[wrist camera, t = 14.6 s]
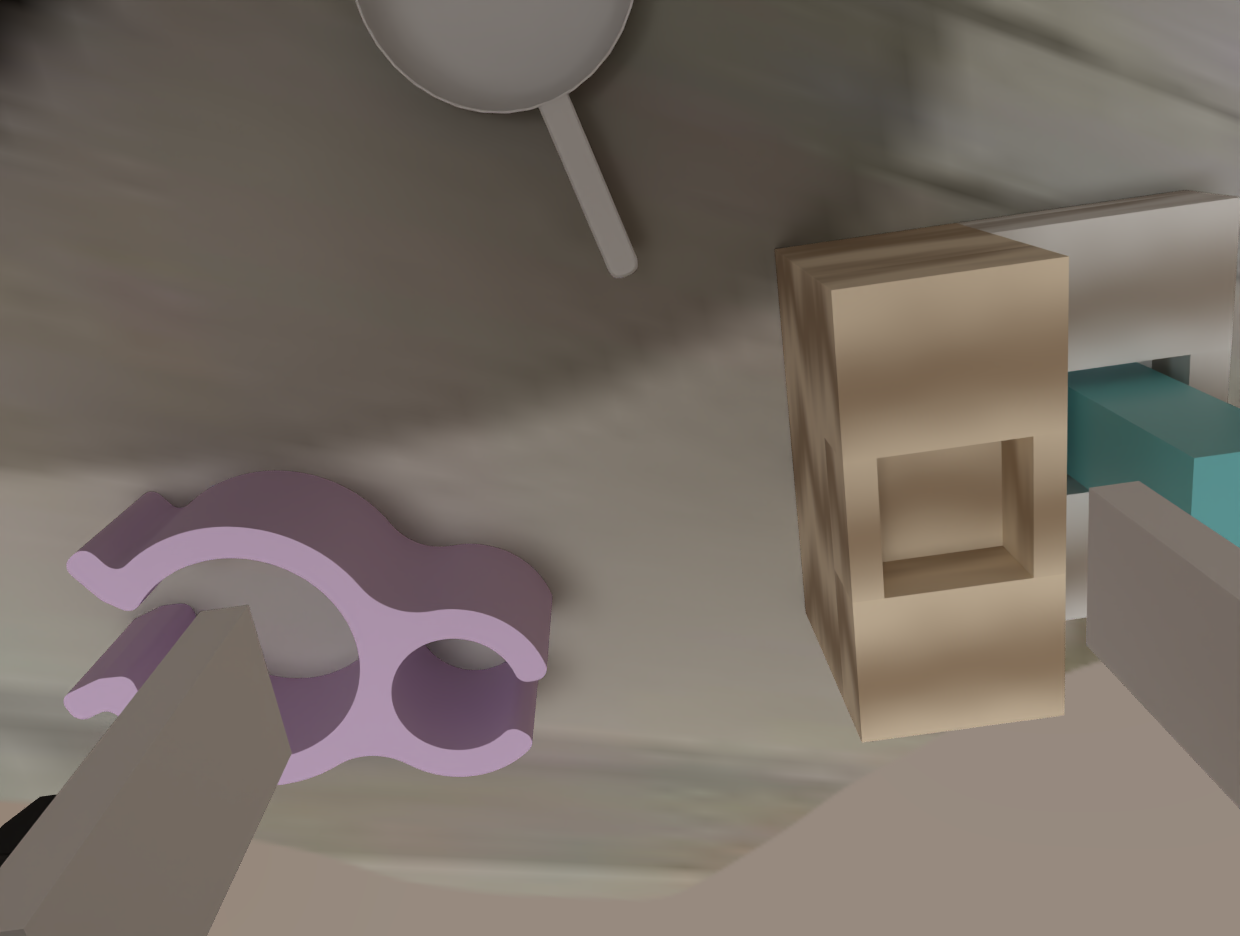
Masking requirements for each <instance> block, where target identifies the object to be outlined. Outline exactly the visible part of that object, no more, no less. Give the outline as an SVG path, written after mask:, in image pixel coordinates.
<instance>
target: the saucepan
mask: <svg viewBox="0 0 1240 936" xmlns="http://www.w3.org/2000/svg"><path fill="white" fill-rule="evenodd" d="M355 2H356V4H357V7H358V10H359V12H360V15H361V18H362V20H363V22H364V24H365V26H366V28H367V29H368V31H369V33H370V35H371V36H372V38H373V40H374V42H375V43H376V45H377V47H378V48H379V49H380V50H381V51H382V53H383V54H384V55H385V56H386V58H387V59H388V60H389V61H390V63H391V64H392V65H393V66H394V67H395V68H396V69H397V70H398V71H399V72H400V73H401V74H403V75H404V76H405V77H406V78H407V79H408V80H409V81H410V82H411V83H413V84H414V85H415V86H417V87H419V88H420V89H422V90H423V91H425V92H427V93H428V94H430V95H431V96H433V97H434V98H437V99H439V100H441V101H444V102H446V103H449V104H451V105H453V106H456V107H458V108H463V109H468V110H472V111H477V112H481V113H513V112H520V111H526V110H532V109H535V108H537V107H538V108H539V110H540V112H541V115H542V117H543V119H544V122H545V124H546V126H547V129H548V131H549V133H550V136H551V138H552V140H553V143H554V145H555V147H556V150H557V152H558V154H559V157H560V159H561V161H562V164H563V166H564V168H565V171H566V173H567V175H568V178H569V180H570V182H571V185H572V187H573V189H574V192H575V194H576V196H577V199H578V201H579V203H580V206H581V208H582V210H583V213H584V215H585V217H586V220H587V222H588V224H589V227H590V229H591V231H592V234H593V236H594V238H595V241H596V243H597V245H598V248H599V250H600V252H601V255H602V257H603V259H604V262H605V264H606V266H607V269H608V271H609V273H610V274H611V275H612V276H613V277H614V278H624V277H626V276H629V275H631V274H633V273H634V272H635V271H636V270H637V268H638V259H637V257H636V254H635V252H634V249H633V247H632V245H631V242H630V240H629V237H628V235H627V233H626V230H625V228H624V226H623V223H622V221H621V218H620V216H619V214H618V211H617V209H616V206H615V204H614V202H613V199H612V197H611V195H610V192H609V190H608V187H607V185H606V183H605V180H604V178H603V175H602V173H601V171H600V168H599V166H598V163H597V161H596V159H595V156H594V154H593V152H592V149H591V147H590V144H589V142H588V140H587V137H586V135H585V132H584V130H583V128H582V125H581V123H580V121H579V118H578V116H577V113H576V111H575V109H574V106H573V104H572V101H571V99H570V97H569V94H568V93H570V92H571V91H573V90H575V89H576V88H577V87H578V86H580V85H581V84H582V83H583V82H584V81H585V80H587V79H588V78H589V77H590V76H591V75H593V74H594V73H595V71H596V70H597V69H598V68H599V67H600V65H601V64H602V63H603V62H604V60H605V59H606V58H607V57H608V56H609V54H610V53H611V51H612V49H613V48H614V46H615V44H616V42H617V41H618V39H619V37H620V35H621V34H622V32H623V30H624V27H625V24H626V22H627V19H628V16H629V13H630V11H631V8H632V5H633V0H355Z"/></svg>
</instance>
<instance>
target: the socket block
mask: <svg viewBox="0 0 1240 936" xmlns="http://www.w3.org/2000/svg"><path fill="white" fill-rule="evenodd" d="M1239 223H1240V197H1236V196H1228V195H1220V194H1212V193H1204V192H1197V191H1189V190H1182V191H1175V192H1168V193H1161V194H1154V195H1147V196H1140V197H1134V198H1127V199H1120V200H1113V201H1106V202H1099V203H1092V204H1085V205H1078V206H1071V207H1064V208H1057V209H1050V210H1043V211H1036V212H1029V213H1022V214H1015V215H1008V216H1001V217H994V218H988V219H981V220H974V221H967V222H960V223H953V224H946V225H939V226H932V227H925V228H918V229H911V230H904V231H897V232H890V233H883V234H876V235H869V236H862V237H855V238H849V239H842V240H835V241H828V242H821V243H814V244H807V245H800V246H793V247H786V248H779V249H775V260H776V271H777V283H778V295H779V306H780V318H781V330H782V341H783V353H784V364H785V376H786V388H787V399H788V411H789V423H790V434H791V446H792V457H793V469H794V481H795V492H796V504H797V516H798V527H799V539H800V551H801V562H802V574H803V585H804V597H805V609H806V614H807V617H808V619H809V621H810V623H811V626H812V628H813V630H814V633H815V635H816V637H817V640H818V642H819V644H820V647H821V649H822V651H823V653H824V656H825V658H826V660H827V663H828V665H829V667H830V670H831V672H832V674H833V676H834V679H835V681H836V683H837V686H838V688H839V690H840V693H841V695H842V697H843V700H844V702H845V704H846V706H847V709H848V711H849V713H850V716H851V718H852V720H853V723H854V725H855V727H856V729H857V732H858V734H859V736H860V739H861V741H862V742H869V741H877V740H884V739H892V738H899V737H907V736H914V735H921V734H929V733H936V732H944V731H951V730H958V729H966V728H974V727H981V726H988V725H996V724H1003V723H1010V722H1018V721H1026V720H1033V719H1041V718H1048V717H1055V716H1063V715H1064V704H1065V700H1064V698H1065V620H1071V619H1078V618H1086V617H1087V575H1088V518H1089V490H1088V489H1087V488H1085V487H1084V486H1083V485H1082V484H1080V483H1079V482H1078V481H1076V480H1075V479H1074V478H1072V477H1071V476H1070V475H1068V474H1067V409H1068V372H1070V371H1077V370H1084V369H1091V368H1098V367H1105V366H1112V365H1119V364H1126V363H1133V362H1138V363H1140V364H1142V365H1144V366H1147V367H1149V368H1151V369H1153V370H1156V371H1158V372H1160V373H1162V374H1164V375H1167V376H1169V377H1171V378H1173V379H1175V380H1178V381H1180V382H1182V383H1184V384H1186V385H1189V386H1191V387H1193V388H1195V389H1197V390H1200V391H1202V392H1204V393H1206V394H1209V395H1211V396H1213V397H1215V398H1217V399H1220V400H1222V401H1224V402H1226V403H1228V392H1229V376H1230V361H1231V346H1232V330H1233V315H1234V300H1235V284H1236V269H1237V253H1238V238H1239Z"/></svg>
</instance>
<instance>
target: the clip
mask: <svg viewBox="0 0 1240 936" xmlns="http://www.w3.org/2000/svg"><path fill="white" fill-rule="evenodd" d="M222 558H240V559H250V560H257V561H261V562H266V563H269V564H272V565H276V566H278V567H281V568H284V569H286V570H288V571H290V572H293V573H295V574H296V575H298V576H300V577H302V578H303V579H305V580H307V581H308V582H310V583H311V584H312V585H314V586H315V587H317V588H318V589H319V590H320V591H321V592H322V593H324V594H325V595H326V596H327V597H328V598H329V599H330V600H331V601H332V602H333V604H334V605H335V606H336V607H337V608H338V610H339V611H340V612H341V614H342V615H343V617H344V618H345V620H346V621H347V623H348V625H349V627H350V629H351V631H352V634H353V636H354V639H355V642H356V645H357V649H358V653H359V659H358V660H357V661H355V662H354V663H352V664H350V665H349V666H347V667H345V668H343V669H341V670H339V671H336V672H333V673H330V674H327V675H323V676H319V677H312V678H283V677H277V676H273V675H269V677H270V680H271V683H272V687H273V690H274V694H275V697H276V701H277V704H278V707H279V711H280V714H281V718H282V721H283V725H284V728H285V731H286V735H287V738H288V742H289V745H290V749H291V752H292V754H291V756H290V758H289V760H288V763H287V765H286V767H285V769H284V771H283V773H282V776H281V778H280V780H279V782H278V784H277V785H282V784H288V783H294V782H298V781H302V780H305V779H308V778H311V777H314V776H317V775H319V774H322V773H324V772H326V771H328V770H330V769H332V768H333V767H335V766H337V765H339V764H341V763H343V762H345V761H347V760H350V759H353V758H357V757H362V756H384V757H389V758H393V759H397V760H399V761H402V762H404V763H406V764H409V765H411V766H413V767H415V768H417V769H420V770H423V771H426V772H429V773H433V774H437V775H443V776H454V777H464V776H475V775H481V774H485V773H489V772H492V771H495V770H498V769H500V768H503V767H505V766H507V765H509V764H511V763H512V762H514V761H516V760H517V759H519V758H520V757H521V756H523V755H524V754H525V753H526V752H527V751H528V750H529V749H530V748H531V746H532V740H533V729H534V718H535V707H536V697H537V686H538V680H539V679H541V678H543V677H544V676H545V674H546V671H547V660H548V647H549V635H550V622H551V610H552V594H551V592H550V590H549V588H548V586H547V584H546V583H545V581H544V580H543V578H542V577H541V576H540V575H539V574H538V572H537V571H536V570H535V569H534V568H533V567H531V566H530V565H529V564H528V563H527V562H525V561H524V560H522V559H521V558H519V557H517V556H516V555H514V554H512V553H510V552H508V551H505V550H503V549H500V548H496V547H492V546H488V545H482V544H459V545H452V546H445V547H435V546H428V545H423V544H420V543H417V542H415V541H412V540H410V539H409V538H407V537H405V536H404V535H402V534H401V533H400V532H398V531H397V530H396V529H395V528H394V527H393V526H392V525H391V523H390V522H389V521H388V520H387V519H386V518H385V517H384V516H383V515H382V514H381V513H380V512H379V511H378V510H377V509H376V508H375V507H374V506H373V505H371V504H370V503H369V502H368V501H366V500H365V499H364V498H362V497H361V496H359V495H358V494H356V493H354V492H353V491H351V490H349V489H347V488H346V487H344V486H342V485H339V484H337V483H335V482H333V481H330V480H327V479H324V478H321V477H318V476H315V475H310V474H306V473H300V472H294V471H278V470H274V471H259V472H253V473H247V474H243V475H239V476H236V477H233V478H230V479H227V480H225V481H222V482H220V483H218V484H216V485H214V486H212V487H211V488H209V489H207V490H206V491H204V492H203V493H201V494H200V495H199V496H197V497H196V498H195V499H194V500H192V501H191V502H190V503H189V504H188V505H187V506H185V507H182V508H178V507H175V506H173V505H171V504H170V503H169V502H168V501H167V500H166V499H164V498H163V497H162V496H161V495H160V494H158V493H156V492H147V493H145V494H144V495H142V496H141V497H140V498H139V499H138V500H137V501H135V502H134V503H133V504H132V505H131V506H130V507H128V508H127V509H126V510H125V511H124V512H123V513H121V514H120V515H119V516H118V517H117V518H116V519H114V520H113V521H112V522H111V523H110V524H109V525H107V526H106V527H105V528H104V529H103V530H102V531H100V532H99V533H98V534H97V535H96V536H95V537H93V538H92V539H91V540H90V541H89V542H88V543H86V544H85V545H84V546H83V547H82V548H80V549H79V550H78V551H77V552H76V553H75V554H74V555H72V556H71V557H70V558H69V560H68V561H67V570H68V572H69V573H70V574H71V575H72V576H73V577H74V578H75V579H76V580H78V581H79V582H80V583H81V584H82V585H83V586H85V587H86V588H87V589H88V590H89V591H91V592H92V593H93V594H94V595H95V596H97V597H98V598H99V599H100V600H102V601H104V602H106V603H108V604H110V605H113V606H115V607H117V608H120V609H122V610H125V611H131V610H134V609H136V608H137V607H138V606H139V605H140V604H141V603H142V602H143V601H144V599H145V598H146V597H147V596H148V595H149V594H150V593H151V592H152V591H153V590H154V589H155V587H156V586H157V585H158V584H159V583H160V582H161V581H162V580H163V579H164V578H165V577H167V576H168V575H170V574H172V573H173V572H175V571H177V570H179V569H181V568H184V567H186V566H189V565H191V564H195V563H198V562H202V561H207V560H213V559H222ZM195 618H196V615H195V613H194V611H193V609H192V608H191V607H190V606H189V605H187V604H172V605H163V606H161V607H159V608H156V609H154V610H152V611H150V612H148V613H146V614H144V615H142V616H140V617H138V618H136V619H135V620H134V621H133V622H132V623H131V624H130V625H129V626H128V627H127V628H126V629H125V631H124V632H123V633H122V634H121V635H120V636H119V637H118V638H117V639H116V641H115V642H114V643H113V644H112V645H111V646H110V647H109V648H108V649H107V651H106V652H105V653H104V654H103V655H102V656H101V657H100V658H99V659H98V661H97V662H96V663H95V664H94V665H93V666H92V667H91V668H90V669H89V671H88V672H87V673H86V674H85V675H84V676H83V677H82V678H81V679H80V681H79V682H78V683H77V684H76V685H75V686H74V687H73V688H72V690H71V691H70V692H69V693H68V694H67V695H66V696H65V698H64V705H65V707H66V709H67V710H68V711H69V712H70V713H71V715H73V716H74V717H76V718H78V719H88V718H90V717H92V716H94V715H96V714H98V713H101V712H105V711H108V712H112V713H114V714H116V715H117V716H119V715H120V713H121V712H122V711H123V710H124V708H125V707H126V706H127V705H128V703H129V702H130V701H131V699H132V698H133V697H134V696H135V694H136V693H137V692H138V690H139V689H140V688H141V687H142V685H143V684H144V683H145V682H146V680H147V679H148V678H149V676H150V675H151V674H152V673H153V671H154V670H155V669H156V667H157V666H158V665H159V664H160V662H161V661H162V660H163V658H164V657H165V656H166V655H167V653H168V652H169V651H170V650H171V648H172V647H173V646H174V644H175V643H176V642H177V641H178V639H179V638H180V637H181V635H182V634H183V633H184V632H185V630H186V629H187V628H188V627H189V625H190V624H191V623H192V621H193V620H194V619H195ZM442 639H465V640H470V641H474V642H477V643H480V644H483V645H485V646H487V647H489V648H490V649H492V650H494V651H495V652H497V653H498V654H499V655H500V656H502V657H503V658H504V659H505V660H506V662H505V663H503V664H501V665H498V666H496V667H493V668H489V669H484V670H466V669H461V668H457V667H454V666H451V665H449V664H447V663H445V662H443V661H441V660H440V659H439V658H437V657H436V656H435V655H434V654H432V652H431V651H430V650H429V649H428V648H427V647H426V645H425V644H427V643H430V642H433V641H437V640H442Z"/></svg>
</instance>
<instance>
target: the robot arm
mask: <svg viewBox="0 0 1240 936" xmlns="http://www.w3.org/2000/svg"><path fill="white" fill-rule="evenodd" d="M1086 645H1087V646H1088V647H1089V648H1090V649H1091V651H1092V652H1093V653H1094V654H1095V655H1096V656H1097V657H1098V658H1099V659H1100V660H1101V661H1102V662H1103V663H1104V664H1105V665H1106V667H1107V668H1108V669H1109V670H1110V671H1111V672H1112V673H1113V674H1114V675H1115V676H1116V677H1117V678H1118V679H1119V680H1120V681H1121V683H1122V684H1123V685H1124V686H1125V687H1126V688H1127V689H1128V690H1129V691H1130V692H1131V693H1132V694H1133V695H1134V696H1135V698H1136V699H1137V700H1138V701H1139V702H1140V703H1141V704H1142V705H1143V706H1144V707H1145V708H1146V709H1147V710H1148V711H1149V713H1151V715H1152V716H1153V717H1154V718H1155V719H1156V720H1157V721H1158V722H1159V723H1160V724H1161V725H1162V726H1163V727H1164V728H1165V730H1166V731H1167V732H1168V733H1169V734H1170V735H1171V736H1172V737H1173V738H1174V739H1175V740H1176V741H1177V742H1178V743H1179V745H1180V746H1181V747H1182V748H1183V749H1184V750H1185V751H1186V752H1187V753H1188V754H1189V755H1190V756H1191V757H1192V758H1193V760H1194V761H1196V763H1197V764H1198V765H1200V767H1201V768H1202V769H1203V770H1204V771H1205V772H1206V773H1207V774H1208V775H1209V777H1210V778H1211V779H1212V780H1213V781H1214V782H1215V783H1216V784H1217V785H1218V786H1219V787H1220V788H1221V789H1222V790H1223V791H1224V793H1225V794H1226V795H1227V796H1228V797H1229V798H1230V799H1231V800H1232V801H1233V802H1234V803H1235V804H1236V805H1237V806H1238V808H1239V809H1240V548H1239V547H1237V546H1236V545H1234V544H1233V543H1231V542H1230V541H1228V540H1227V539H1225V538H1224V537H1222V536H1221V535H1219V534H1218V533H1216V532H1215V531H1213V530H1212V529H1210V528H1209V527H1207V526H1206V525H1204V524H1203V523H1201V522H1200V521H1198V520H1197V519H1195V518H1194V517H1192V516H1191V515H1189V514H1188V513H1186V512H1185V511H1183V510H1182V509H1180V508H1179V507H1177V506H1176V505H1174V504H1173V503H1171V502H1170V501H1168V500H1167V499H1165V498H1164V497H1162V496H1161V495H1159V494H1158V493H1156V492H1155V491H1153V490H1152V489H1150V488H1149V487H1147V486H1146V485H1144V484H1143V483H1141V482H1140V481H1134V482H1127V483H1120V484H1112V485H1105V486H1098V487H1091V488H1089V518H1088V575H1087V631H1086ZM291 754H292V752H291V749H290V745H289V742H288V738H287V735H286V731H285V728H284V725H283V721H282V718H281V714H280V711H279V707H278V704H277V701H276V697H275V694H274V690H273V687H272V683H271V680H270V677H269V673H268V670H267V666H266V663H265V660H264V656H263V653H262V649H261V646H260V642H259V639H258V636H257V632H256V629H255V625H254V622H253V618H252V615H251V612H250V608H249V605H243V606H236V607H229V608H222V609H214V610H207V611H200V612H199V614H198V615H197V616H196V618H195V619H194V620H193V621H192V623H191V624H190V625H189V627H188V628H187V629H186V630H185V632H184V633H183V634H182V635H181V637H180V638H179V639H178V641H177V642H176V643H175V644H174V646H173V647H172V648H171V650H170V651H169V652H168V653H167V655H166V656H165V657H164V658H163V660H162V661H161V662H160V664H159V665H158V666H157V667H156V669H155V670H154V671H153V673H152V674H151V675H150V676H149V678H148V679H147V680H146V682H145V683H144V684H143V685H142V687H141V688H140V689H139V690H138V692H137V693H136V694H135V696H134V697H133V698H132V699H131V701H130V702H129V703H128V705H127V706H126V707H125V708H124V710H123V711H122V712H121V713H120V715H119V716H118V717H117V719H116V720H115V721H114V722H113V724H112V725H111V726H110V728H109V729H108V730H107V731H106V733H105V734H104V735H103V737H102V738H101V739H100V740H99V742H98V743H97V744H96V745H95V747H94V748H93V749H92V751H91V752H90V753H89V754H88V756H87V757H86V758H85V760H84V761H83V762H82V763H81V765H80V766H79V767H78V768H77V770H76V771H75V772H74V774H73V775H72V776H71V777H70V779H69V780H68V781H67V783H66V784H65V785H64V786H63V788H62V789H61V790H60V792H59V793H58V794H57V795H50V796H42V797H39V798H38V799H37V800H35V801H34V802H33V803H31V804H30V805H29V806H27V807H26V808H25V809H24V810H22V811H21V812H20V813H18V814H17V815H16V816H14V817H13V818H12V819H10V820H9V821H8V822H6V823H5V824H4V825H3V826H2V827H1V828H0V936H207V935H208V932H209V930H210V928H211V926H212V924H213V922H214V920H215V917H216V915H217V913H218V911H219V909H220V906H221V904H222V902H223V900H224V898H225V896H226V894H227V892H228V889H229V887H230V885H231V883H232V881H233V879H234V876H235V874H236V872H237V870H238V868H239V866H240V864H241V862H242V859H243V857H244V855H245V853H246V851H247V849H248V846H249V844H250V842H251V840H252V838H253V836H254V834H255V831H256V829H257V827H258V825H259V823H260V821H261V819H262V816H263V814H264V812H265V810H266V808H267V806H268V803H269V801H270V799H271V797H272V795H273V793H274V791H275V788H276V786H277V784H278V782H279V780H280V778H281V776H282V773H283V771H284V769H285V767H286V765H287V763H288V760H289V758H290V756H291Z"/></svg>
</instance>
